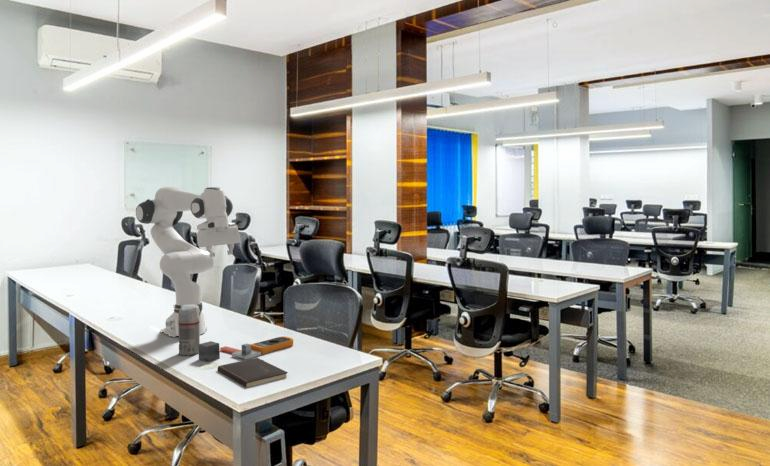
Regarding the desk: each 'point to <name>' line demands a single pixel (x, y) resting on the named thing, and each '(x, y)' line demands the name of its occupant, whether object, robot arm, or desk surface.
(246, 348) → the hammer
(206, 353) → the brushed metal cube
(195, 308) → the spray can
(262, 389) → the desk surface
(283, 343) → the multimeter
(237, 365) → the hardcover book
